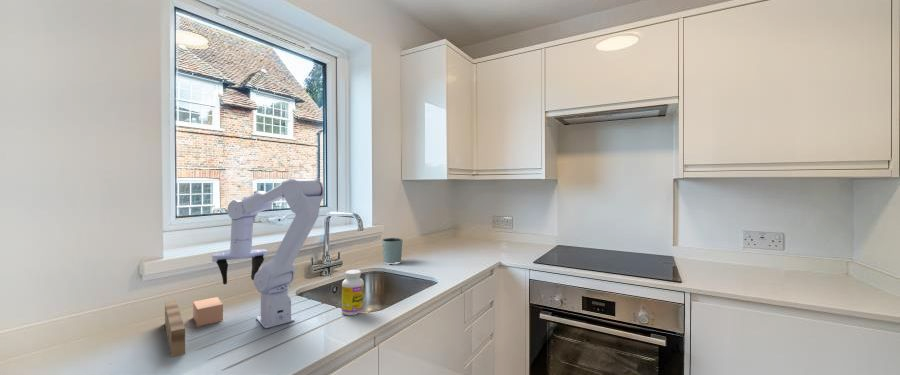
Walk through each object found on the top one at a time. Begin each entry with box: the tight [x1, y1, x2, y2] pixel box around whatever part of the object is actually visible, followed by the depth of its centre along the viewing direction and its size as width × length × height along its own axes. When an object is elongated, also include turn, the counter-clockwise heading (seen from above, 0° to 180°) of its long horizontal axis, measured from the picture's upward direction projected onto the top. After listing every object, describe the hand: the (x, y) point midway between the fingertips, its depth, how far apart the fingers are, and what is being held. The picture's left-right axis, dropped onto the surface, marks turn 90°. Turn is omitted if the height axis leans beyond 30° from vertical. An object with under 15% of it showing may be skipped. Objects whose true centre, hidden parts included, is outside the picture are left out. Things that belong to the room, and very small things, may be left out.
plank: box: [164, 300, 186, 358], centre depth 87 cm, size 24×2×6 cm, turn 43°
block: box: [192, 296, 224, 327], centre depth 99 cm, size 8×6×5 cm
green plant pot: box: [381, 237, 404, 263], centre depth 168 cm, size 10×10×12 cm
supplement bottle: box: [341, 269, 365, 316], centre depth 105 cm, size 7×7×13 cm
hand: (239, 281), depth 104 cm, fingers open, 7 cm apart
